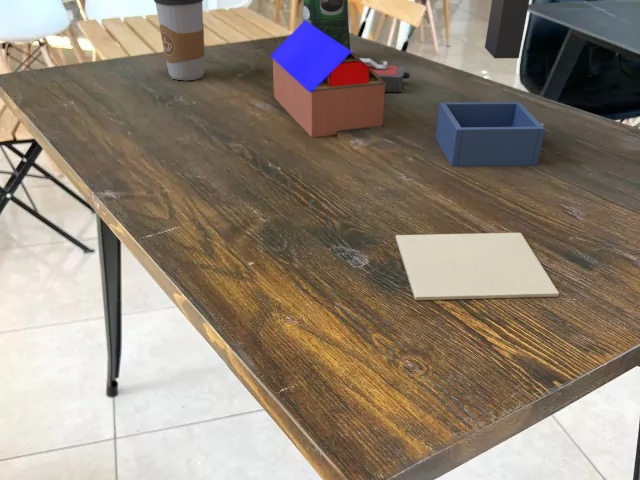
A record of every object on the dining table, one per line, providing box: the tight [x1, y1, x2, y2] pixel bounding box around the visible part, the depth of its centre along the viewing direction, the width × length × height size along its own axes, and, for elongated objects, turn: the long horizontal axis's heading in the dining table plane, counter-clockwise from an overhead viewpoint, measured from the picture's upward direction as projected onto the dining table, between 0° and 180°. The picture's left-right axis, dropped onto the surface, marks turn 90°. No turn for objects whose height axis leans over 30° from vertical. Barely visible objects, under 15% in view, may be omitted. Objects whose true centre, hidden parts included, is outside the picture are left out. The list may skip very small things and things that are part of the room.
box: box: [435, 101, 546, 168], centre depth 89 cm, size 12×11×6 cm
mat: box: [395, 232, 560, 301], centre depth 67 cm, size 14×12×1 cm
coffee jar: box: [302, 0, 351, 51], centre depth 123 cm, size 10×8×19 cm
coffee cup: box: [153, 0, 205, 81], centre depth 114 cm, size 8×8×15 cm
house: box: [270, 21, 386, 138], centre depth 100 cm, size 12×20×12 cm, turn 20°
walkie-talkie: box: [358, 57, 411, 93], centre depth 115 cm, size 9×4×20 cm
